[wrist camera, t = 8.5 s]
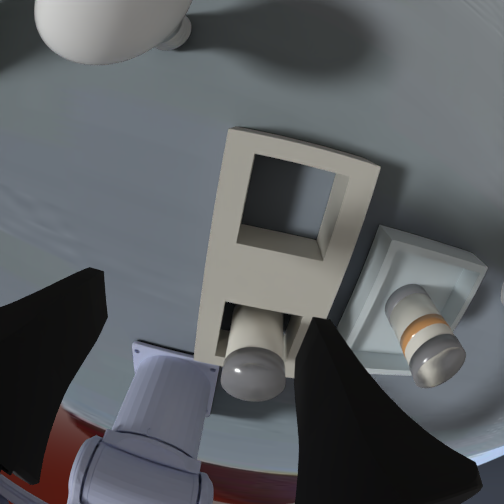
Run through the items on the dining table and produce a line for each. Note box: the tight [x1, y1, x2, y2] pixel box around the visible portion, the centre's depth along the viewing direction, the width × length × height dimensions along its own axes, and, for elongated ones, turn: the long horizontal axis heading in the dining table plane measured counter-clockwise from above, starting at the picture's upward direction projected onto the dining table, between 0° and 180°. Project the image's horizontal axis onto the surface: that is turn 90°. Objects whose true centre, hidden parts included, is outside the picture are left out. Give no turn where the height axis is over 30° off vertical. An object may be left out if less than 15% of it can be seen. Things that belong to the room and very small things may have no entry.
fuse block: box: [194, 126, 381, 378], centre depth 19 cm, size 16×8×3 cm, turn 169°
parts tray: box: [337, 225, 488, 376], centre depth 20 cm, size 11×9×2 cm
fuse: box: [221, 303, 286, 402], centre depth 19 cm, size 4×4×7 cm
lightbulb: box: [34, 0, 192, 65], centre depth 9 cm, size 6×6×11 cm
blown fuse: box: [385, 284, 466, 388], centre depth 18 cm, size 4×4×7 cm
